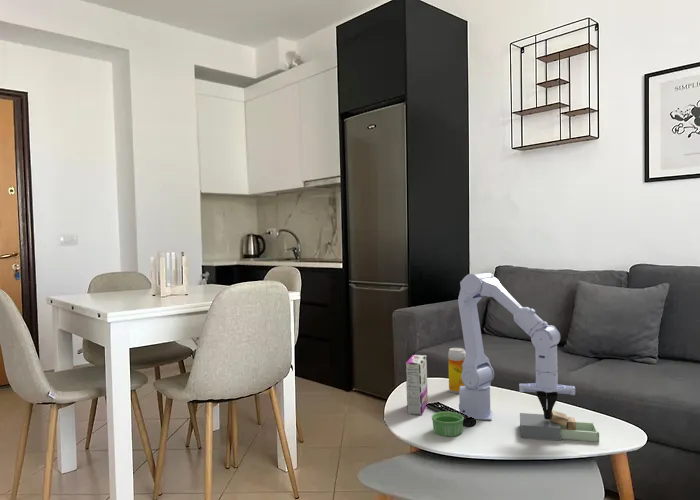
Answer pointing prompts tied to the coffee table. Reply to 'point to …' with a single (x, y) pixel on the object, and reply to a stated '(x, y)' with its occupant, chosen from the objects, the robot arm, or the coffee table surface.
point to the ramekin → (447, 423)
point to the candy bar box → (416, 384)
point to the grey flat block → (539, 427)
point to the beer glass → (456, 368)
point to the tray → (581, 432)
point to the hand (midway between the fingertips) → (547, 418)
